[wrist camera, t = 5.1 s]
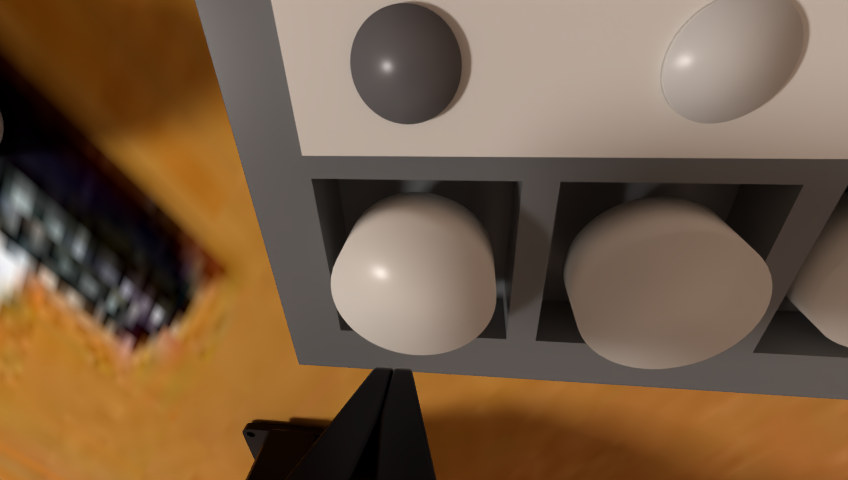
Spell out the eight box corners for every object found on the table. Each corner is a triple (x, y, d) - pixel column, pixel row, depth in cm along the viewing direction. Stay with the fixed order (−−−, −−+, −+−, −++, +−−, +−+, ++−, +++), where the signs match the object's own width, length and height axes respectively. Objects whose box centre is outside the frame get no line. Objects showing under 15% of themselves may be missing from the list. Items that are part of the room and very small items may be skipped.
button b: (699, 326, 14) (731, 374, 12) (553, 319, 14) (563, 363, 12) (757, 197, 11) (807, 234, 9) (575, 194, 12) (593, 229, 10)
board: (906, 342, 16) (1003, 421, 13) (323, 313, 19) (294, 374, 16) (1297, -125, 9) (1723, -184, 6) (239, -66, 11) (156, -85, 8)
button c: (489, 315, 14) (491, 359, 13) (357, 309, 15) (342, 350, 13) (498, 192, 12) (502, 227, 10) (339, 190, 12) (317, 222, 11)
